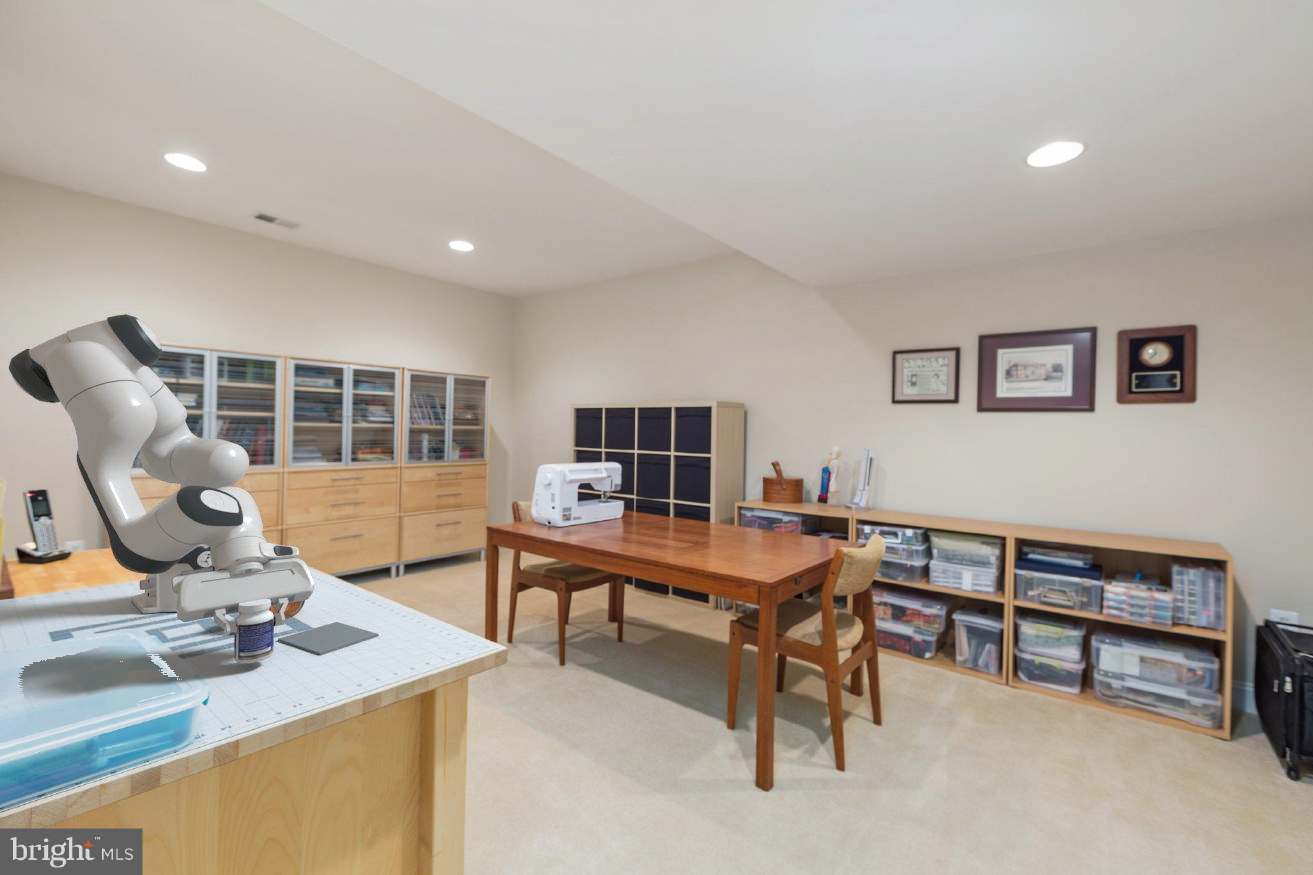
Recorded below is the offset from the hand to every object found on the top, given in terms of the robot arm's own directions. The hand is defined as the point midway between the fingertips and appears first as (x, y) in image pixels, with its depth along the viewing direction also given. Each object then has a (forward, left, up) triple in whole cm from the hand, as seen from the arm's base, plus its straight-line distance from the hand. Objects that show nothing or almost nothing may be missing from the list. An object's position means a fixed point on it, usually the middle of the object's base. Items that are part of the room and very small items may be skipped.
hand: (256, 628), depth 100 cm
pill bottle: (-1, 0, -6) cm, 6 cm away
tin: (-23, +15, -7) cm, 28 cm away
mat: (-3, +15, -7) cm, 17 cm away
